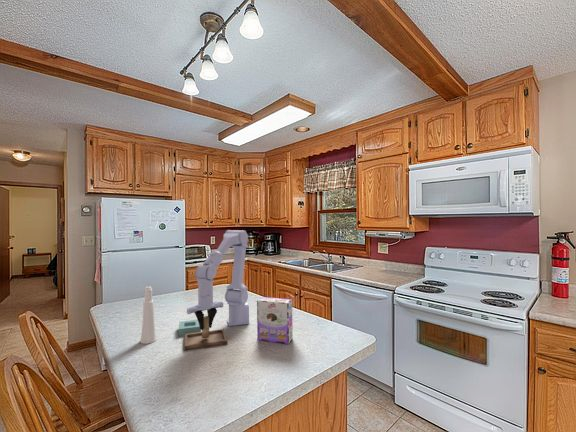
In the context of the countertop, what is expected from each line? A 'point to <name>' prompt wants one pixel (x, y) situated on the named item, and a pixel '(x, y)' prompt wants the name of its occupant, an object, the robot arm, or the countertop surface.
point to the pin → (205, 327)
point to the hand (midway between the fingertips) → (205, 328)
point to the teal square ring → (188, 327)
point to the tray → (205, 339)
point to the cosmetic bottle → (148, 319)
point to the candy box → (274, 320)
